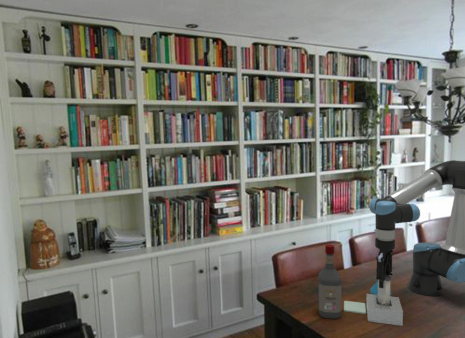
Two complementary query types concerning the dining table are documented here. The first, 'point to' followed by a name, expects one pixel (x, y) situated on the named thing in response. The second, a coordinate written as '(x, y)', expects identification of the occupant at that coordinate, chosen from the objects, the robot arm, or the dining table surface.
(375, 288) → the perfume bottle
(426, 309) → the dining table surface
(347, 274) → the dining table surface
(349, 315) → the dining table surface
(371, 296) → the housing
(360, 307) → the mat
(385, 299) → the salt shaker
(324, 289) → the liquor
